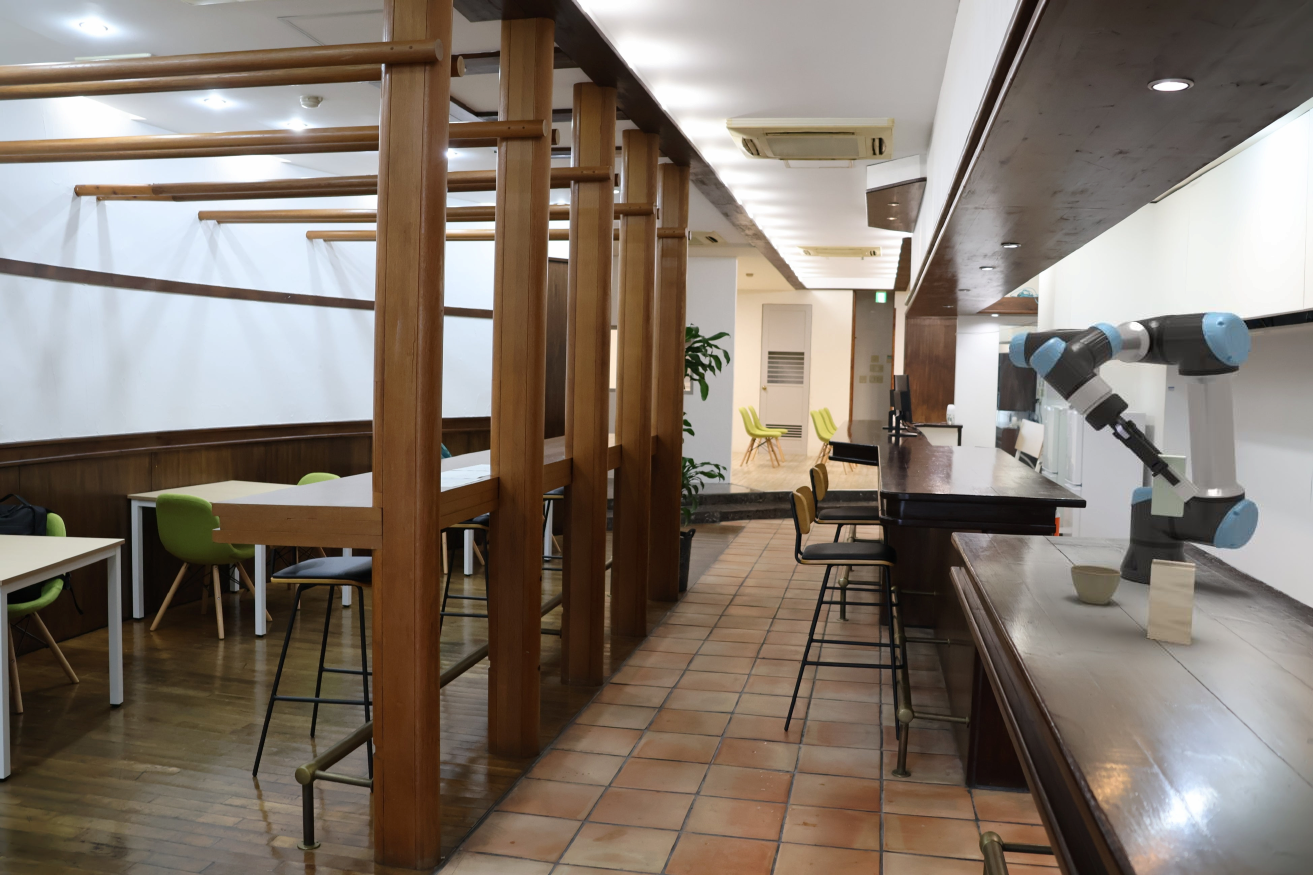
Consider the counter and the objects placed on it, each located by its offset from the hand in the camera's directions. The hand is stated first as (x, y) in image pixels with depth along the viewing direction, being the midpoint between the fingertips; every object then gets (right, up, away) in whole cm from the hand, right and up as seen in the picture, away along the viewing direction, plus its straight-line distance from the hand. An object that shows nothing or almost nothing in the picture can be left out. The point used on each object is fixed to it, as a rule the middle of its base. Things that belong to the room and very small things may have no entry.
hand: (1191, 495), depth 165 cm
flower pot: (-4, -26, +30) cm, 39 cm away
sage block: (-3, -4, +2) cm, 5 cm away
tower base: (-2, -27, +3) cm, 27 cm away
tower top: (-2, -20, +3) cm, 20 cm away
